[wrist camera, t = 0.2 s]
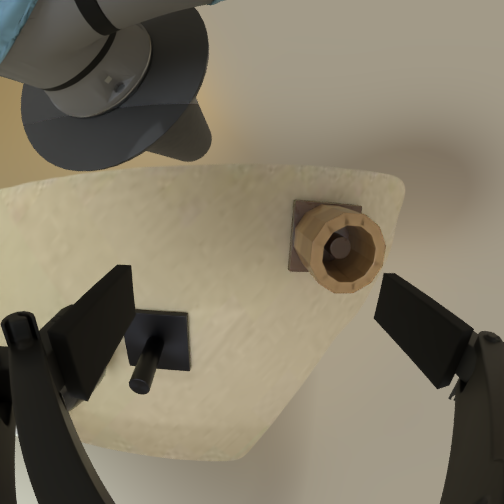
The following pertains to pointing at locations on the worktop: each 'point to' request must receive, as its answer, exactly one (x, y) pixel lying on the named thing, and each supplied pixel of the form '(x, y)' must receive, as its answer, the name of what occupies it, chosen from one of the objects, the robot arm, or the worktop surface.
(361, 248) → the maple ring
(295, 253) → the low peg stand
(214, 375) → the worktop surface
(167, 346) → the square base peg
